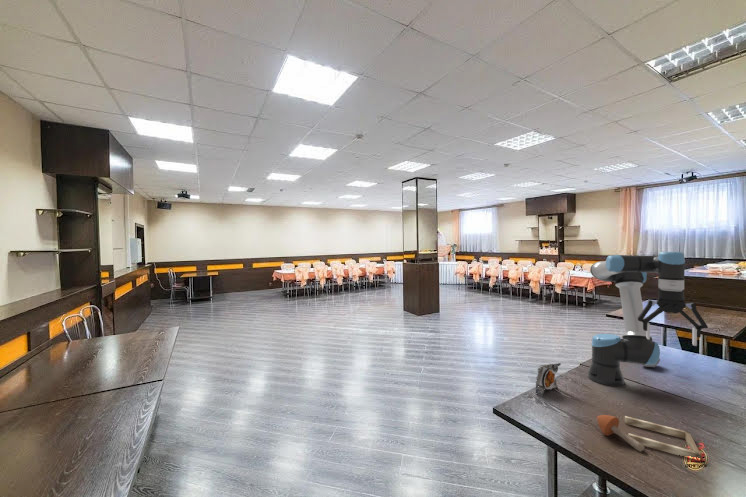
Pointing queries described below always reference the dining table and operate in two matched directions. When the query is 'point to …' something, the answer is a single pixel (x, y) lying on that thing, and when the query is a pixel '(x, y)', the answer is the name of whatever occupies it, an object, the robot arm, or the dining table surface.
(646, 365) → the stone
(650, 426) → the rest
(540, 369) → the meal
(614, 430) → the mushroom
